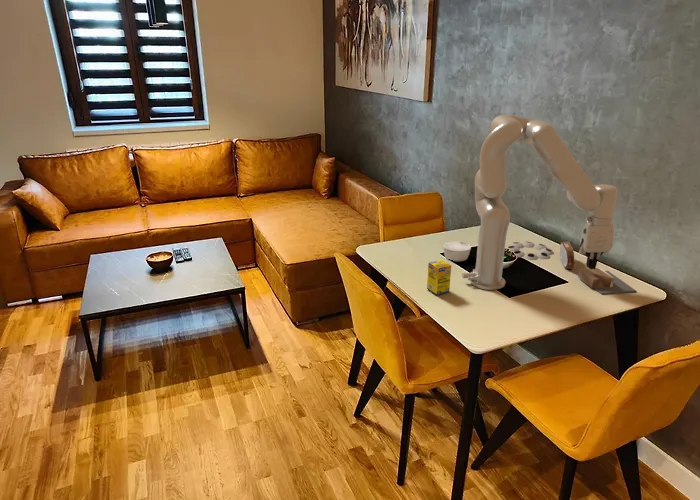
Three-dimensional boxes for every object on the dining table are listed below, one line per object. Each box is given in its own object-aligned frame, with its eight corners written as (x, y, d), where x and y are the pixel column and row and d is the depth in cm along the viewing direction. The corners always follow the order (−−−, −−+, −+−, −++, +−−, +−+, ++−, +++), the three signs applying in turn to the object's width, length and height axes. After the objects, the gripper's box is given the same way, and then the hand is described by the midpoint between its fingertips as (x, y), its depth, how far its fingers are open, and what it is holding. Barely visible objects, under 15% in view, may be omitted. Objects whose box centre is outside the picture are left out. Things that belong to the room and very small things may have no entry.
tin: (573, 272, 191) (576, 252, 187) (564, 271, 191) (567, 251, 188) (565, 257, 204) (568, 238, 201) (557, 256, 205) (560, 237, 201)
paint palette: (505, 241, 222) (505, 237, 221) (551, 245, 217) (552, 241, 216) (505, 258, 205) (506, 254, 204) (556, 263, 200) (556, 258, 199)
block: (593, 279, 175) (614, 278, 176) (579, 269, 183) (600, 267, 184) (591, 288, 176) (612, 286, 177) (578, 277, 185) (598, 276, 185)
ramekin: (475, 258, 204) (476, 246, 202) (456, 265, 198) (457, 253, 196) (456, 250, 213) (456, 239, 211) (437, 256, 207) (437, 244, 205)
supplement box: (436, 296, 174) (438, 268, 170) (426, 289, 179) (427, 262, 174) (449, 292, 176) (451, 264, 172) (439, 286, 181) (441, 259, 177)
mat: (601, 294, 173) (601, 293, 173) (575, 274, 189) (576, 272, 189) (636, 292, 174) (636, 290, 174) (607, 272, 190) (607, 270, 190)
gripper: (585, 224, 167) (576, 273, 174) (626, 222, 169) (616, 270, 176) (573, 217, 174) (565, 264, 181) (613, 215, 176) (604, 262, 183)
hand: (590, 267), depth 178 cm, fingers closed
